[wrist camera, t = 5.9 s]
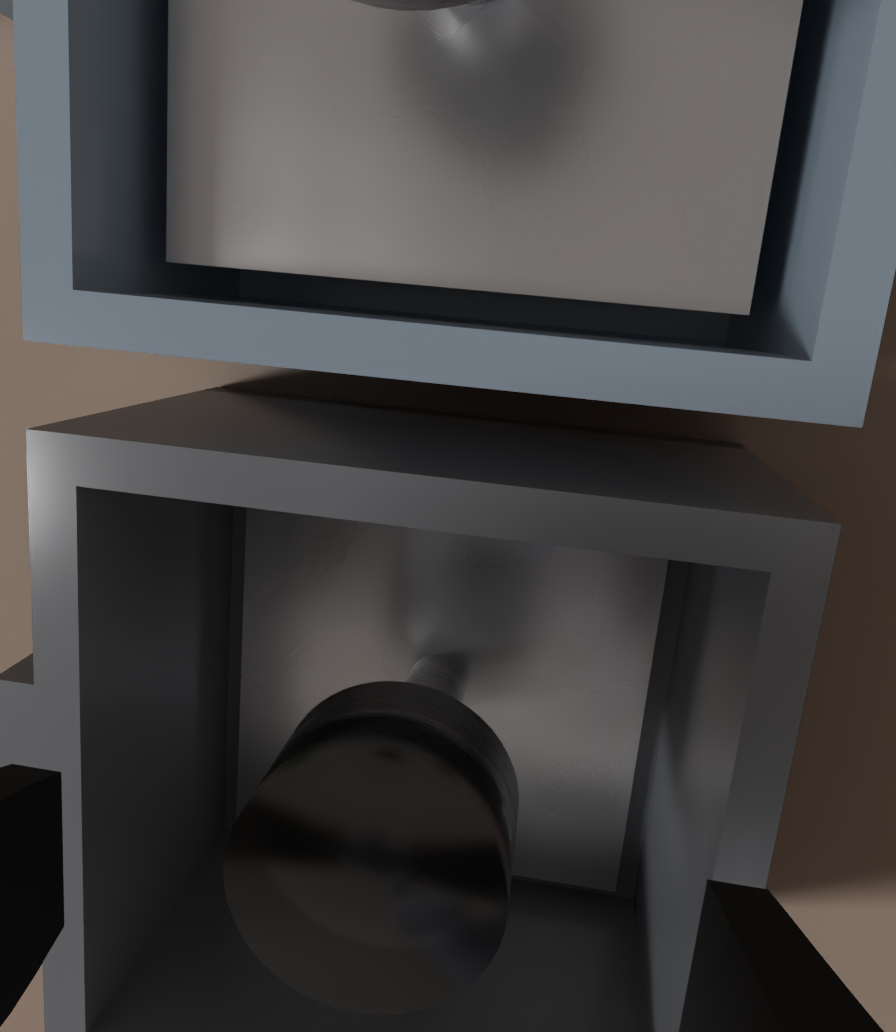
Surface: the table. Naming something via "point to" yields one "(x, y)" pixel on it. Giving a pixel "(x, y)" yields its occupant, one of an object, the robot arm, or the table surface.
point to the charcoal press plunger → (425, 745)
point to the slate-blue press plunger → (481, 143)
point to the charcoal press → (217, 683)
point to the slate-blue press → (447, 311)
